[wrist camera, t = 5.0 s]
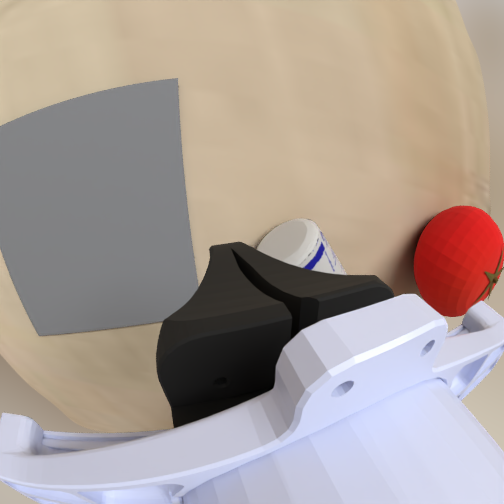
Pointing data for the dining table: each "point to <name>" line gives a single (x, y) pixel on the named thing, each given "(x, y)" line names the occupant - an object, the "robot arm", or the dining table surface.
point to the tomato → (458, 259)
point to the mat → (98, 210)
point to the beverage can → (301, 246)
